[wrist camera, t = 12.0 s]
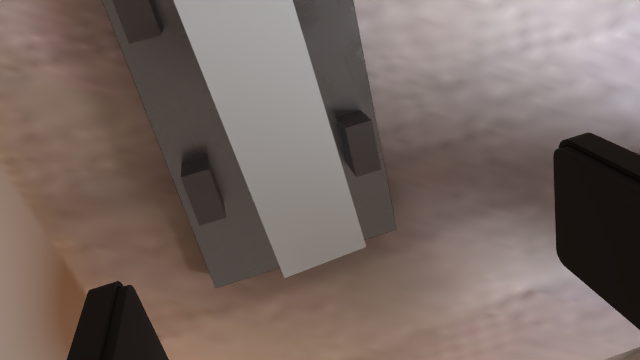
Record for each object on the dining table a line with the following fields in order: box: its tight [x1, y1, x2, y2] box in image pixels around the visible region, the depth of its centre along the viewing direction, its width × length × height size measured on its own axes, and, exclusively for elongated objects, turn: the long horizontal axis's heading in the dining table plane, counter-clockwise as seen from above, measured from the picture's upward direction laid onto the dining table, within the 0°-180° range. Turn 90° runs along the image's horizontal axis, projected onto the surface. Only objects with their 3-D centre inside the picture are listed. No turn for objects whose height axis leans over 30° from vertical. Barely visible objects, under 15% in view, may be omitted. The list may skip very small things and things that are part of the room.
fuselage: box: [173, 0, 366, 278], centre depth 24 cm, size 4×19×8 cm, turn 16°
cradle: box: [102, 0, 397, 288], centre depth 28 cm, size 12×24×4 cm, turn 13°
